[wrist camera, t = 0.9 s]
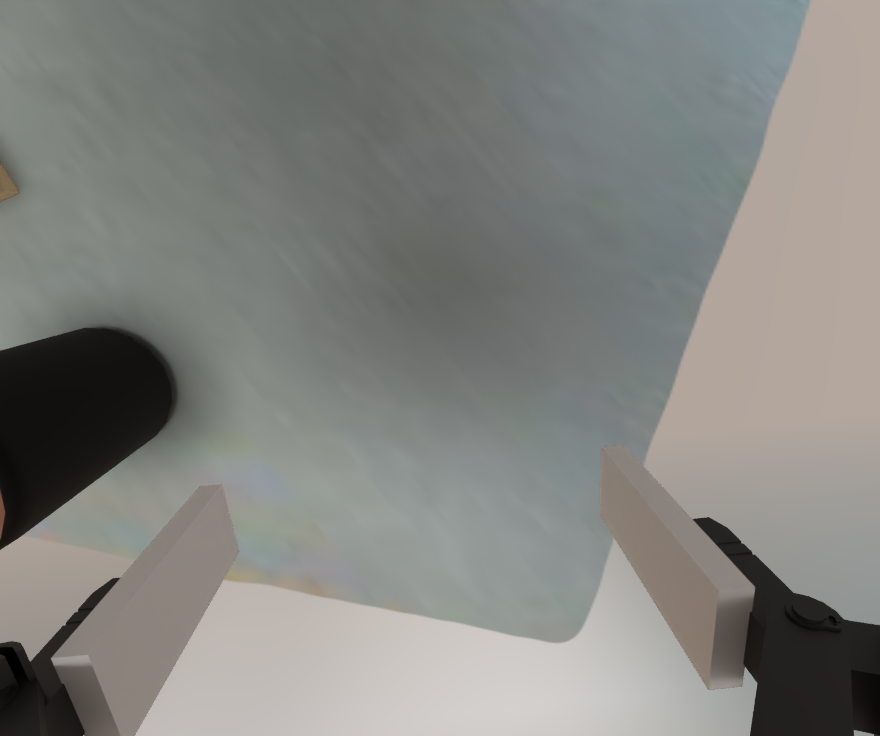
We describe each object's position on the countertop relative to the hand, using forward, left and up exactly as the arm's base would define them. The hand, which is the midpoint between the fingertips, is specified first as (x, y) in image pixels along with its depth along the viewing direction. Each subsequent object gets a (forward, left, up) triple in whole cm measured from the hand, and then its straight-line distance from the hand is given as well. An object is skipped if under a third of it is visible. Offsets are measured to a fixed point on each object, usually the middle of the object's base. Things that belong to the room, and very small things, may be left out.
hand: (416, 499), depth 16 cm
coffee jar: (-7, -26, -24) cm, 36 cm away
